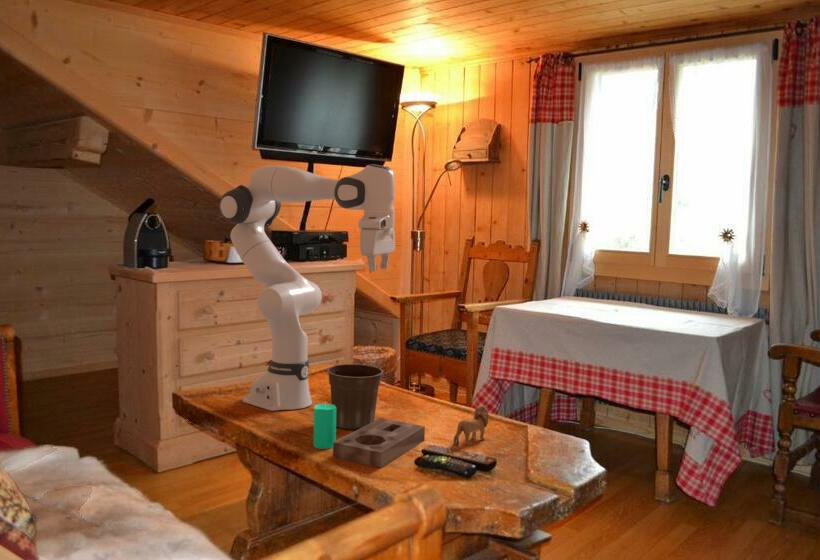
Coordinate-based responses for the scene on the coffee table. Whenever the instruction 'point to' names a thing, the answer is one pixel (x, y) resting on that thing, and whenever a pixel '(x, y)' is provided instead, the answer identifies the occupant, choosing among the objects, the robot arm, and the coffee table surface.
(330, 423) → the candle
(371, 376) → the plant pot
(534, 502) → the coffee table surface
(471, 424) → the lion figurine
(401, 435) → the socket block
